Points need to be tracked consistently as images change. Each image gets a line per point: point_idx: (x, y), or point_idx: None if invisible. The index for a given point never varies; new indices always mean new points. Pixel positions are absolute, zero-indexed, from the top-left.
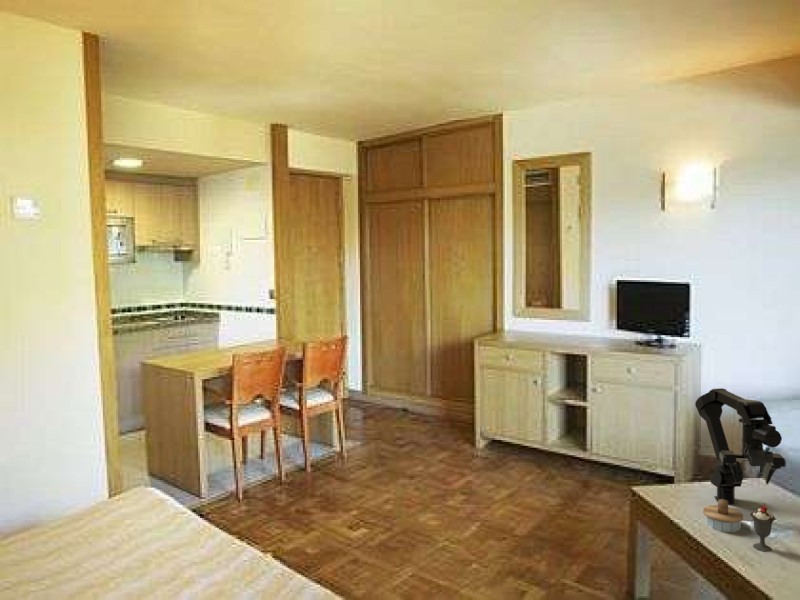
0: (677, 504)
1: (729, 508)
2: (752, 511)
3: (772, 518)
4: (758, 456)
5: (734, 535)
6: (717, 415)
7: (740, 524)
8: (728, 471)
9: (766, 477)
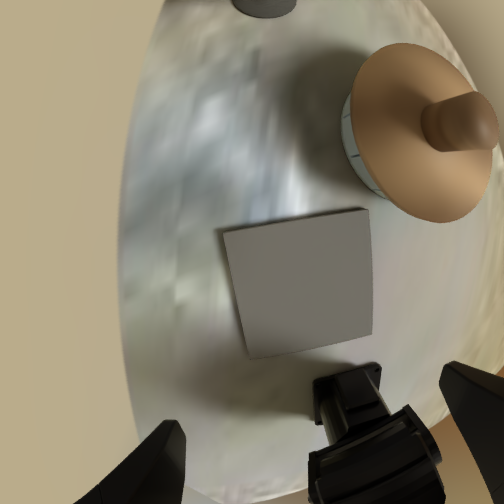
0: (486, 296)
1: (412, 196)
2: (267, 339)
3: None
4: None
5: (360, 64)
6: None
7: (349, 110)
8: (412, 478)
9: (168, 482)
